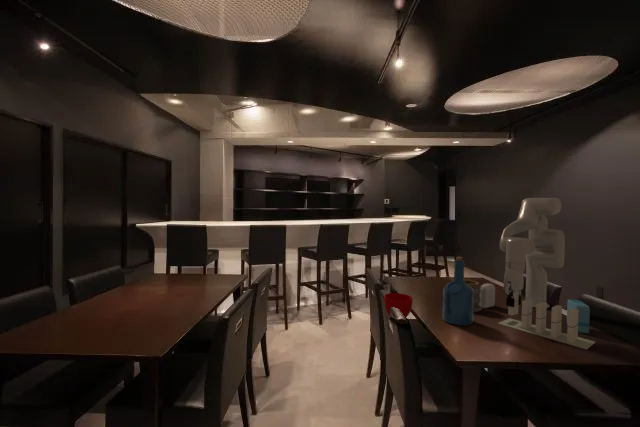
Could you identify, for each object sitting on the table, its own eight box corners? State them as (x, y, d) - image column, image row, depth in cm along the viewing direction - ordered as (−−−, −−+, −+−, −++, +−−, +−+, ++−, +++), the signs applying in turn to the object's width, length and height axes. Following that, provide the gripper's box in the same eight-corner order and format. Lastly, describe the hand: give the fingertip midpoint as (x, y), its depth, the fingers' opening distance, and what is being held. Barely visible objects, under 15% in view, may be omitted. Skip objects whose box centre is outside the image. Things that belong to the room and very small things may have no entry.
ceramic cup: (410, 312, 159) (411, 292, 159) (412, 323, 142) (413, 301, 142) (384, 309, 162) (384, 290, 161) (383, 320, 145) (384, 299, 145)
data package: (589, 335, 134) (590, 307, 134) (576, 333, 136) (577, 305, 135) (578, 325, 145) (579, 299, 145) (566, 324, 147) (567, 298, 147)
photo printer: (487, 303, 176) (488, 281, 176) (495, 306, 172) (496, 283, 172) (477, 306, 170) (478, 283, 170) (485, 309, 167) (486, 285, 166)
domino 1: (513, 312, 147) (514, 286, 147) (518, 313, 146) (519, 287, 146) (508, 314, 144) (508, 288, 144) (512, 315, 142) (513, 289, 142)
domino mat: (509, 319, 152) (509, 318, 152) (595, 342, 126) (595, 341, 126) (497, 324, 145) (497, 323, 145) (586, 350, 119) (586, 349, 119)
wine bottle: (449, 314, 156) (451, 254, 156) (477, 322, 147) (479, 257, 146) (436, 321, 146) (438, 256, 146) (466, 329, 137) (468, 260, 136)
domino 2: (526, 325, 143) (527, 298, 143) (531, 326, 142) (532, 299, 141) (521, 327, 139) (522, 300, 139) (525, 329, 138) (526, 301, 138)
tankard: (485, 309, 166) (486, 281, 166) (472, 313, 159) (473, 283, 158) (450, 299, 182) (451, 273, 182) (437, 303, 175) (438, 276, 175)
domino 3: (540, 328, 139) (541, 301, 138) (545, 330, 137) (546, 302, 137) (535, 331, 135) (536, 304, 135) (540, 333, 134) (541, 305, 133)
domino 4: (555, 333, 134) (556, 305, 134) (561, 334, 133) (562, 306, 133) (550, 336, 131) (551, 307, 130) (555, 337, 129) (557, 308, 129)
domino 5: (571, 337, 130) (573, 308, 130) (577, 339, 128) (578, 309, 128) (566, 341, 126) (568, 311, 126) (572, 342, 125) (573, 312, 125)
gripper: (514, 263, 153) (512, 300, 153) (497, 266, 142) (496, 305, 143) (531, 265, 147) (530, 304, 147) (515, 268, 136) (514, 310, 137)
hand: (513, 304), depth 145 cm, fingers closed on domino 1, 6 cm apart
